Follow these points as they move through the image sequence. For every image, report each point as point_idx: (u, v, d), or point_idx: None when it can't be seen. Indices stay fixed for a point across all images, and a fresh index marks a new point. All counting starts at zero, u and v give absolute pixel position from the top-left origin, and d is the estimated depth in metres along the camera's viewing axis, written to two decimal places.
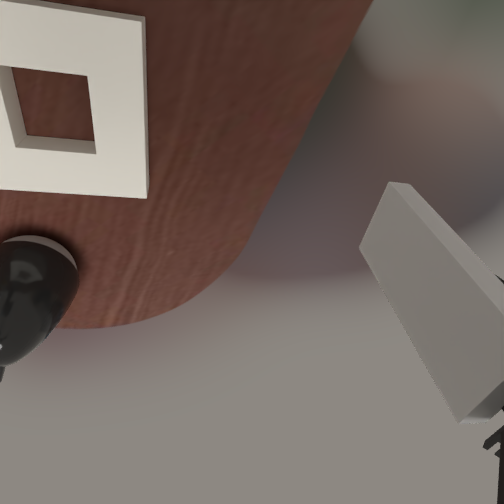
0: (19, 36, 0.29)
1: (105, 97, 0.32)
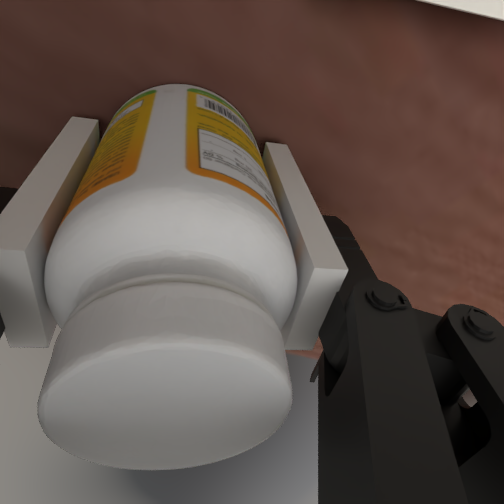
0: None
1: None
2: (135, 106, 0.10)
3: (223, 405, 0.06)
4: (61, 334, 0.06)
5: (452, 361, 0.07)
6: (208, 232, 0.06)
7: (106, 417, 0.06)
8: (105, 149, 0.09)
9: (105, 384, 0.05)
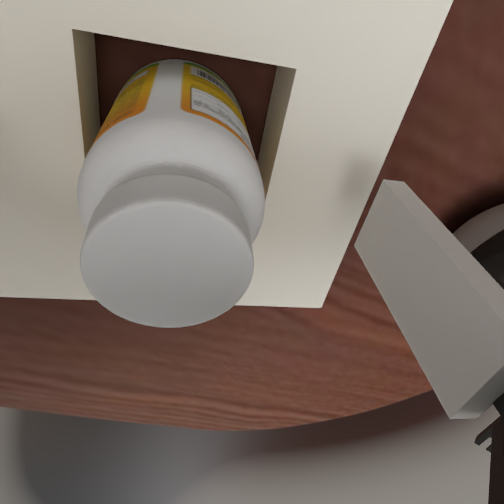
0: (19, 165, 0.13)
1: None
2: (142, 74, 0.13)
3: (205, 262, 0.08)
4: (95, 211, 0.08)
5: None
6: (196, 149, 0.09)
7: (125, 266, 0.08)
8: (120, 103, 0.11)
9: (126, 233, 0.08)
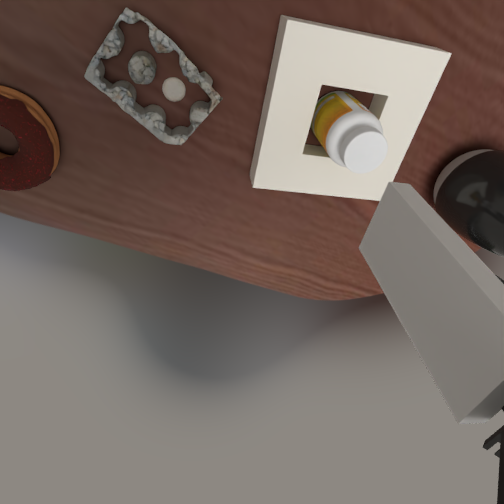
0: (287, 129, 0.37)
1: (342, 72, 0.34)
2: (332, 97, 0.37)
3: (375, 150, 0.32)
4: (348, 136, 0.32)
5: None
6: (370, 120, 0.33)
7: (356, 150, 0.32)
8: (334, 107, 0.35)
9: (360, 140, 0.31)
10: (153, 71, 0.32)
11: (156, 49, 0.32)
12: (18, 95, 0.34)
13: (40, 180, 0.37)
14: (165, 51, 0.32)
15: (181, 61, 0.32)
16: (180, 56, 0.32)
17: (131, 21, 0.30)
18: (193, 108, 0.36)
